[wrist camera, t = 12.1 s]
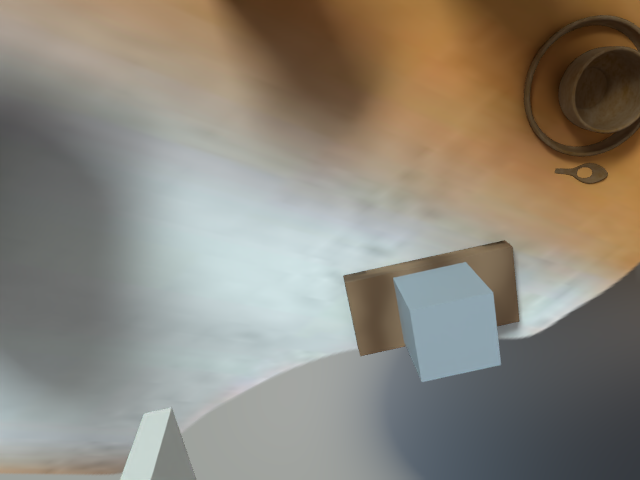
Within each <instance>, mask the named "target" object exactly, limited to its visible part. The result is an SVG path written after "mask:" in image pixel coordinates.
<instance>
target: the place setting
mask: <svg viewBox="0 0 640 480" xmlns="http://www.w3.org/2000/svg"><path fill="white" fill-rule="evenodd" d="M590 25H603V26H608V27H611V28H614V29H616V30H618V31H620V32H622V33H623V34H625V35H626V36H627V37H628V38H629V39H630V40H631V41H632V42H633V43H634V45H635V46H636V47H637V49H638V51H639V52H638V51H636V50H634V49H632V48H629V47H621V46H616V47H601V48H596V49H593V50H590V51H588V52H586V53H584V54H582V55H580V56H579V57H578V58H576V59H575V60H574V61H573V62H572V63H571V64H570V65H569V67H568V68H567V70H566V71H565V73H564V75H563V77H562V79H561V82H560V86H559V103H560V106H561V109H562V111H563V113H564V115H565V116H566V117H567V118H568V119H569V120H570V121H571V122H572V123H573V124H575V125H577V126H579V127H581V128H583V129H586V130H590V131H594V132H598V133H614V132H616V133H615V134H613V135H612V136H610V137H609V138H607V139H605V140H603V141H601V142H599V143H596V144H593V145H589V146H582V147H572V146H566V145H563V144H560V143H557V142H555V141H553V140H552V139H550V138H549V137H547V136H546V135H545V134H544V133H543V132H542V131H541V129H540V128H539V127H538V125H537V123H536V122H535V120H534V117H533V115H532V111H531V105H530V90H531V83H532V79H533V75H534V72H535V70H536V67H537V65H538V63H539V61H540V59H541V57H542V56H543V54H544V53H545V51H546V50H547V49H548V48H549V46H551V45H552V44H553V43H554V42H555V41H556V40H557V39H559V38H560V37H561V36H563V35H564V34H566V33H568V32H570V31H572V30H574V29H577V28H580V27H584V26H590ZM524 105H525V111H526V115H527V118H528V121H529V123H530V125H531V127H532V129H533V130H534V132H535V133H536V135H537V136H538V137H539V138H540V139H541V140H542V141H543V142H544V143H545V144H546V145H548V146H549V147H551V148H553V149H554V150H557V151H559V152H561V153H564V154H568V155H572V156H591V155H597V154H600V153H604V152H606V151H609V150H611V149H613V148H615V147H617V146H618V145H620V144H621V143H623V142H624V141H626V140H627V139H628V138H629V137H630V136H631V135H633V134H634V133H635V131H636V130H637V129H638V128H639V127H640V28H639V27H637V26H636V25H635V24H633V23H631V22H629V21H627V20H625V19H622V18H619V17H615V16H603V15H600V16H592V17H587V18H584V19H580V20H578V21H575V22H573V23H570V24H569V25H567V26H565V27H563V28H562V29H560V30H559V31H558V32H556V33H555V34H554V35H553V36H552V37H551V38H550V39H549V40H547V42H546V43H545V44H544V45H543V46H542V47H541V49H540V50H539V52H538V53H537V55H536V56H535V58H534V60H533V62H532V64H531V66H530V69H529V71H528V74H527V78H526V82H525V88H524ZM582 167H588V168H590V169H592V175H591V176H590V177H588V178H580V177H578V176H577V171H578V169H580V168H582ZM555 173H558V174H568V175H572V176H574V177H575V178H576V179H577V180H579V181H581V182H584V183H595V182H598V181H600V180H603V179H604V178H606V177H607V175H608V173H607V171H606V170H605V169H604V168H603V167H601V166H600V165H597V164H594V163H587V164H583V165H580V166H578V167H576V168H573V169H556V170H555Z"/></svg>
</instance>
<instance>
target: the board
mask: <svg viewBox="0 0 640 480" xmlns="http://www.w3.org/2000/svg"><path fill="white" fill-rule="evenodd" d="M463 262H466V263H467V264H468V265H469V266H470V267H471V268H472V269H473V271H474V272H475V273H476V274H477V275H478V276H479V277H480V278H481V279H482V281H483V282H484V283H485V284H486V285H487V286H488V287H489V288H490V289H491V291H492V292H493V295H494V304H495V313H496V323H497V326H501V325H505V324H510V323H514V322H519V312H518V301H517V291H516V280H515V269H514V259H513V248H512V246H511V245H510V244H509V243H507V242H506V241H500V242H496V243H491V244H486V245H482V246H477V247H473V248H468V249H464V250H459V251H454V252H450V253H445V254H441V255H436V256H431V257H427V258H422V259H418V260H413V261H409V262H404V263H399V264H395V265H390V266H386V267H381V268H377V269H372V270H367V271H363V272H358V273H354V274H349V275H344V276H343V277H344V282H345V287H346V291H347V296H348V301H349V306H350V311H351V316H352V320H353V325H354V330H355V335H356V340H357V345H358V349H359V352H360V356H364V355H368V354H373V353H377V352H382V351H386V350H391V349H396V348H400V347H405V346H406V345H405V343H404V339H403V333H402V327H401V321H400V316H399V310H398V304H397V298H396V292H395V287H394V281H393V278H394V277H399V276H403V275H408V274H413V273H417V272H422V271H426V270H431V269H436V268H440V267H445V266H449V265H454V264H459V263H463Z"/></svg>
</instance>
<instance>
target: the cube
mask: <svg viewBox="0 0 640 480" xmlns="http://www.w3.org/2000/svg"><path fill="white" fill-rule="evenodd" d="M393 281H394V287H395V292H396V298H397V304H398V310H399V316H400V321H401V327H402V333H403V339H404V343H405V345H406V348H407V350H408V352H409V354H410V357H411V359H412V361H413V364H414V366H415V368H416V370H417V373H418V375H419V377H420V380H421V382H425V381H430V380H435V379H439V378H443V377H448V376H453V375H457V374H462V373H467V372H471V371H476V370H480V369H485V368H490V367H494V366H498V365H501V361H500V350H499V341H498V332H497V323H496V313H495V304H494V295H493V292H492V291H491V289H490V288H489V287H488V286H487V285H486V284H485V283H484V282H483V281H482V279H481V278H480V277H479V276H478V275H477V274H476V273H475V272H474V271H473V269H472V268H471V267H470V266H469V265H468V264H467V263H466V262H463V263H459V264H454V265H449V266H445V267H440V268H436V269H431V270H426V271H422V272H417V273H413V274H408V275H403V276H399V277H394V278H393Z"/></svg>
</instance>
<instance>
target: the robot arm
mask: <svg viewBox="0 0 640 480" xmlns="http://www.w3.org/2000/svg"><path fill="white" fill-rule="evenodd" d="M120 480H196V477H195V475H194V472H193V469H192V466H191V463H190V460H189V457H188V454H187V451H186V448H185V445H184V442H183V439H182V436H181V433H180V430H179V427H178V425H177V422H176V419H175V416H174V413H173V410H172V407H171V408H167V409H162V410H157V411H153V412H148V413H144V415H143V417H142V420H141V423H140V426H139V429H138V431H137V434H136V437H135V440H134V442H133V445H132V448H131V451H130V454H129V456H128V459H127V462H126V465H125V468H124V470H123V473H122V476H121V479H120Z"/></svg>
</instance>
